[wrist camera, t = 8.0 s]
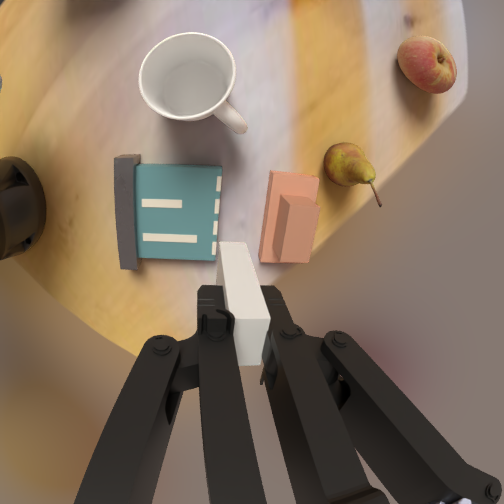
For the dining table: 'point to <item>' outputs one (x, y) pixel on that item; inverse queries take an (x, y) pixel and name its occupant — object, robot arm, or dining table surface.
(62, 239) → the dining table surface
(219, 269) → the robot arm
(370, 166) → the fruit
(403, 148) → the dining table surface
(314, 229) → the stub
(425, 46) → the apple
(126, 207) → the grey end rail
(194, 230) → the striped teal tile
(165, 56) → the mug
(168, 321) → the dining table surface
